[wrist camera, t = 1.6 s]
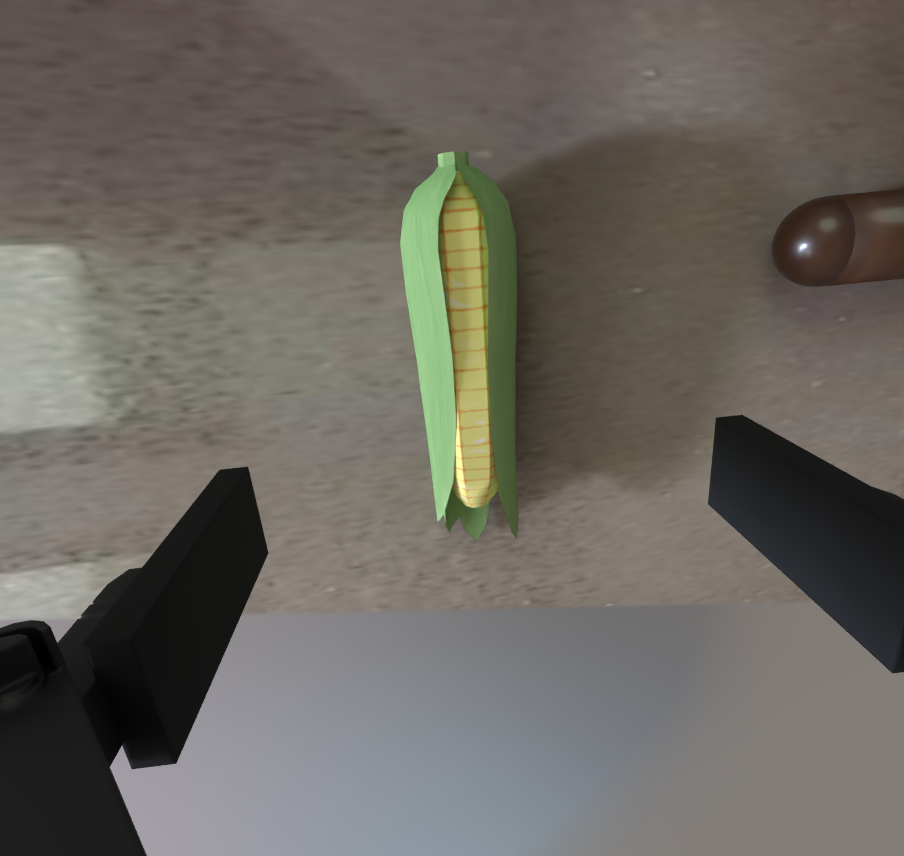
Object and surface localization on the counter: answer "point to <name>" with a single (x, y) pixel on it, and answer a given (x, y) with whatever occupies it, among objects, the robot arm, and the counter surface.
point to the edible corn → (465, 337)
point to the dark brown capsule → (843, 240)
